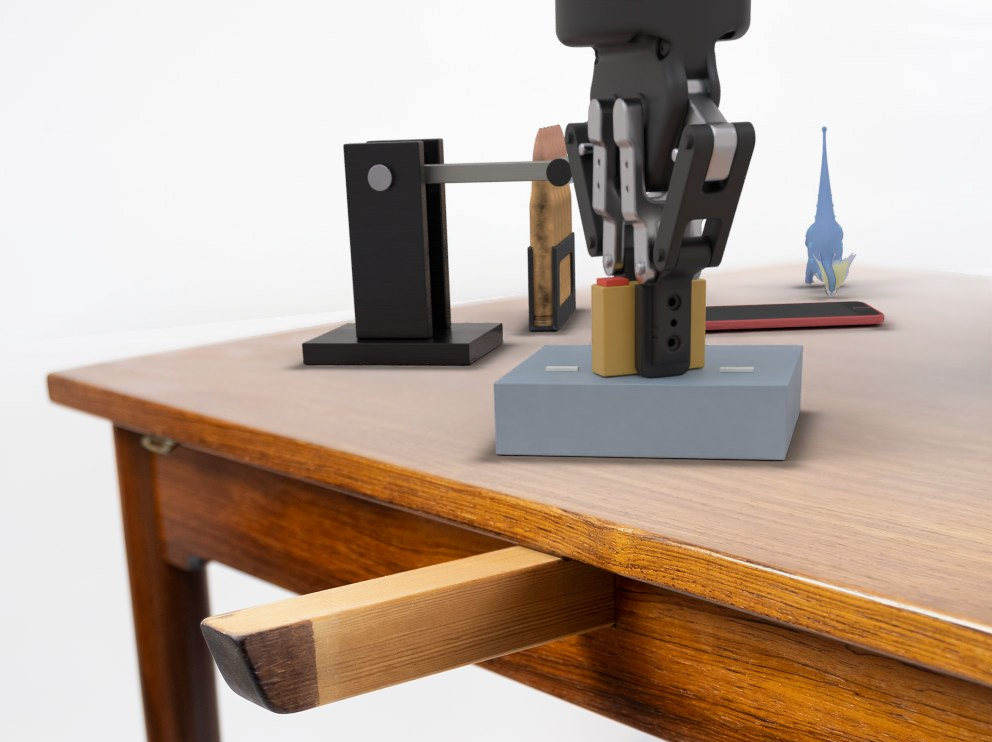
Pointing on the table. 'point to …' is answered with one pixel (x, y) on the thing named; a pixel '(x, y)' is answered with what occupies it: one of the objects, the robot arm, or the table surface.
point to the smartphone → (791, 315)
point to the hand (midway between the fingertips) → (650, 369)
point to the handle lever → (501, 172)
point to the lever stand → (399, 265)
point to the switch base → (652, 406)
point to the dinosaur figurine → (826, 238)
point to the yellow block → (633, 326)
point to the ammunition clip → (550, 242)
